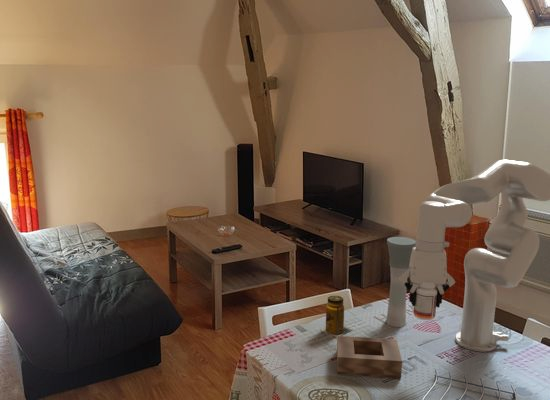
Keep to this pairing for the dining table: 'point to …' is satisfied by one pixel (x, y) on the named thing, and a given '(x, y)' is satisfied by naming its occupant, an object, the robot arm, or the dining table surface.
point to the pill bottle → (425, 301)
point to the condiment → (335, 317)
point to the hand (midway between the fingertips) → (425, 304)
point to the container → (398, 266)
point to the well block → (368, 357)
